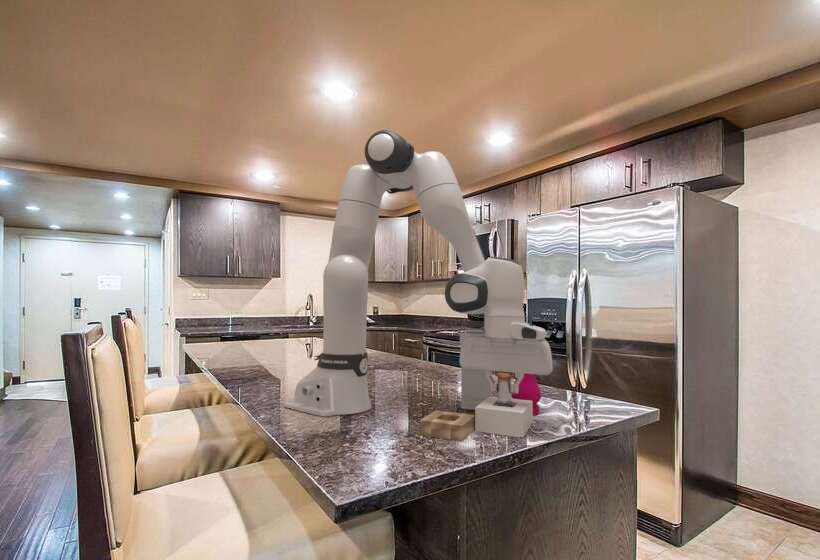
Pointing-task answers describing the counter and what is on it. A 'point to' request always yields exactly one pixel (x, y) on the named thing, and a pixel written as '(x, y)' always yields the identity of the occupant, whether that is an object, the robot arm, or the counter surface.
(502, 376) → the pin
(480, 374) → the supplement box
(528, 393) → the pepper mill
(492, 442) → the counter surface
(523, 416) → the dock
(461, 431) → the mount
